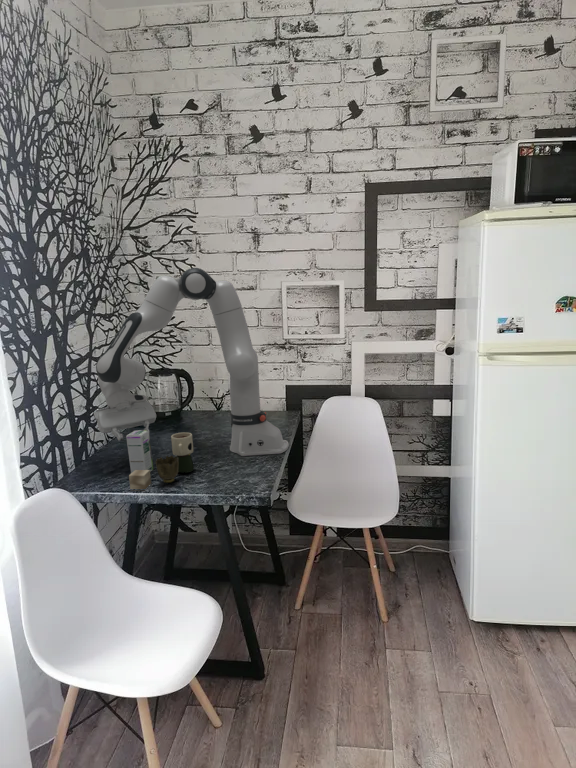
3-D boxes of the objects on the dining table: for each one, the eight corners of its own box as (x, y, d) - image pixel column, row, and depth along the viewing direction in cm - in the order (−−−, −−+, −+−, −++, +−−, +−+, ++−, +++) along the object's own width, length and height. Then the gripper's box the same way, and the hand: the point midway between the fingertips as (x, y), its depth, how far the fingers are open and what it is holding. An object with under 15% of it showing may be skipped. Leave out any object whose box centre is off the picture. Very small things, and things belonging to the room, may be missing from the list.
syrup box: (146, 475, 189) (141, 434, 186) (130, 475, 190) (125, 434, 187) (153, 469, 194) (149, 429, 192) (138, 469, 196) (133, 429, 193)
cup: (160, 488, 177) (158, 464, 175) (155, 481, 183) (152, 458, 182) (183, 483, 180) (181, 459, 178) (177, 476, 186) (174, 453, 185)
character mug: (193, 476, 186) (190, 439, 183) (172, 478, 186) (168, 440, 183) (197, 465, 196) (193, 430, 194) (176, 466, 196) (173, 431, 194)
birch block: (151, 484, 181) (149, 469, 180) (145, 490, 176) (143, 475, 175) (136, 484, 182) (135, 469, 181) (130, 490, 177) (128, 475, 176)
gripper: (93, 404, 190) (106, 438, 185) (149, 394, 202) (163, 425, 196) (90, 415, 195) (103, 448, 189) (145, 404, 207) (159, 435, 201)
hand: (134, 436), depth 193 cm, fingers open, 8 cm apart
